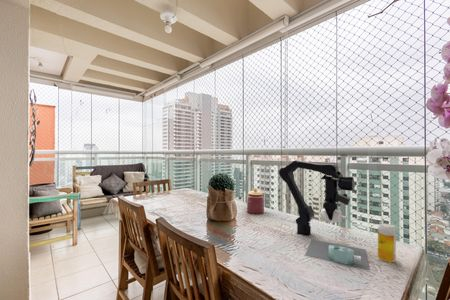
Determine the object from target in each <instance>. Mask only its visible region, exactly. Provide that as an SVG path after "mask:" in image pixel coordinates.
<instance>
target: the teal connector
mask: <svg viewBox="0 0 450 300" xmlns="http://www.w3.org/2000/svg"><path fill="white" fill-rule="evenodd" d="M329 259H330V260H332V261H335V262H339V263H344V264H348V265H353V264H354V260H359V261H361V256H356V255H354V250H352V249H350V248H346V247H341V246H336V245H329ZM335 262H334V263H335ZM339 263H338V264H339ZM344 264H343V265H344ZM348 265H347V266H348Z"/></svg>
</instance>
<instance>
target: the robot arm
mask: <svg viewBox="0 0 450 300" xmlns="http://www.w3.org/2000/svg"><path fill="white" fill-rule="evenodd" d="M298 168H299V169H304V170H309V171H315V172H319V173H321V174H323V176H322V177H320V179H321V180H324V202H323V203H322V209H325V211H326V213H327V215H328V217H329V220H332V218H333V213H334V211H335V210H336V211H338V206H339V204H338V203H341V204H343V205H345V206H349V203H350V202H351V198H350V197H349V195H348V194H347V193H345V192H344V193H339V190H338V189H340V191H349V192H354V191H355V187H356V183H355V178H354V176H343V174H342V173H341V172H340V169H339V167H338V165H337V164H334V163H322V164H320V163H314V162H307V161H302V160H299V159H298V160H293V161H291V163H289V164H287V165H286V166H284V167H281V168H280V169H279V171H278V175H279V176H280V179H282V181H284V183H286V185H287V187H288V189H289V192H290V194H291V195H292V197H293V199H294V202H295V203H296V205H297V210H298V211H297V212H298V215H299V217H298V218H296V219H295V223H296V226H297V227H296V229H297V230H296V231H297V232H296V234H297V235H301V236H306V237H308V236H309V237H310V235H311V234H312V226H311V225H310V224H311V221H312V220H313V219H314V218H315V211H314V209H313V207H312V205H311V204H310V205H308V203H306V201H305V199H304V196H303V194H302V193H301V192H300V189H299V187H298V185H297V183H296V181H295V174H294V172H295V171H296V170H297V169H298Z"/></svg>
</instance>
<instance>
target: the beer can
mask: <svg viewBox="0 0 450 300" xmlns="http://www.w3.org/2000/svg"><path fill="white" fill-rule="evenodd" d="M396 231H397V230H396V227H395V225H394V224H391V223H384V222H382V223H379V224H378V226H377V258H378V259H379V260H381V261H383V262H385V263H394V262H396V259H397V258H396V254H397V253H396V252H397V251H396V247H397V242H396V241H397V240H396V239H397V237H396V236H397V232H396Z"/></svg>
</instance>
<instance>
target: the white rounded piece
mask: <svg viewBox="0 0 450 300" xmlns="http://www.w3.org/2000/svg"><path fill="white" fill-rule="evenodd" d="M320 219H321V221H324V222H331V223H336V224H340V223H342V220H347V219H348V217H347V216H346V215H342V211H341V210H335V211H334V213H333V218H332V220H329V217H328V215H327V213H326V211H325V208H321V211H320Z"/></svg>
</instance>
